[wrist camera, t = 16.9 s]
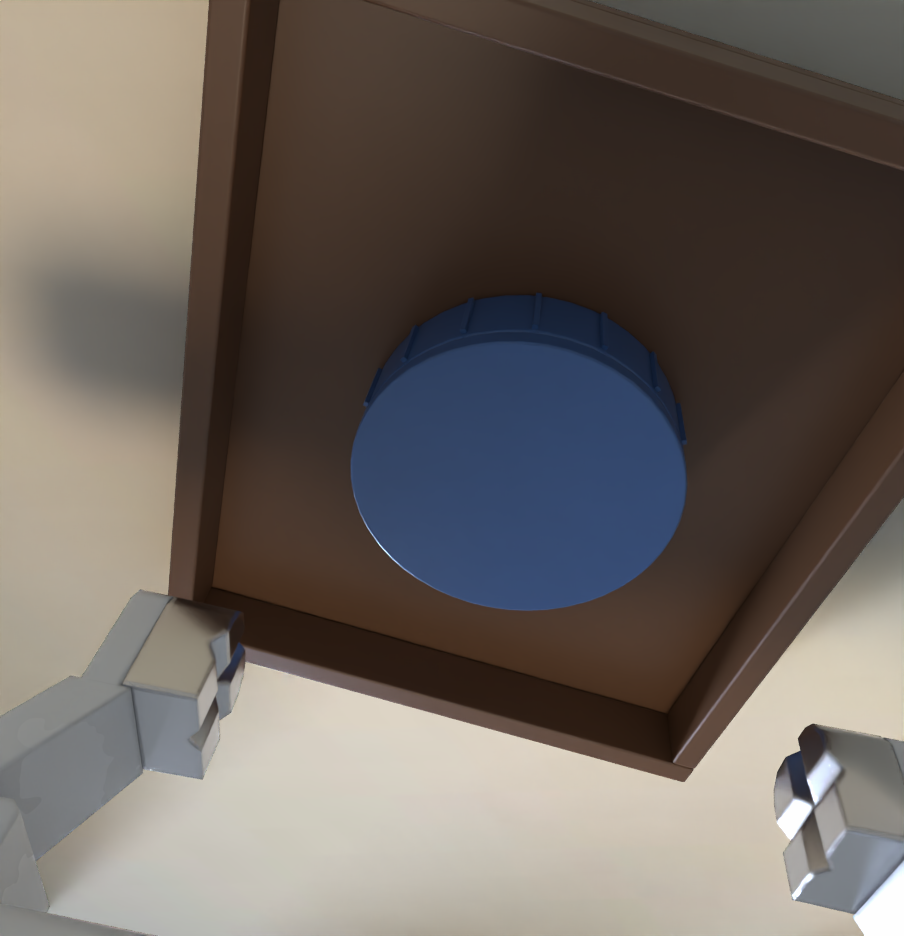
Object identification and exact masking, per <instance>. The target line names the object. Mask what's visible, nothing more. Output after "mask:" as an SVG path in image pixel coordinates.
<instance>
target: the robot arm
mask: <svg viewBox="0 0 904 936" xmlns="http://www.w3.org/2000/svg"><path fill="white" fill-rule="evenodd" d="M244 630H245V622H244V613H243V612H241V611H237V610H232V609H228V608H223V607H219V606H214V605H210V604H206V603H201V602H197V601H192V600H188V599H183V598H179V597H173V596H169V595H164V594H159V593H155V592H150V591H145V590H141V589H140V590H139V591H138V592H137V593H136V594H134V595H133V596H132V597H131V598H130V600H129V601H128V603H127V604H126V606H125V608H124V609H123V611H122V612H121V614H120V616H119V617H118V619H117V620H116V622H115V624H114V625H113V627H112V628H111V630H110V632H109V633H108V635H107V636H106V638H105V640H104V641H103V643H102V644H101V646H100V648H99V649H98V651H97V653H96V654H95V656H94V657H93V659H92V661H91V662H90V664H89V665H88V667H87V669H86V670H85V672H84V673H83V675H82V677H76V676H69V677H67V678H66V679H64V680H62V681H60V682H59V683H57V684H55V685H54V686H52V687H50V688H48V689H47V690H45V691H43V692H41V693H40V694H38V695H36V696H34V697H33V698H31V699H29V700H27V701H26V702H24V703H22V704H20V705H19V706H17V707H15V708H14V709H12V710H10V711H8V712H7V713H5V714H3V715H1V716H0V936H156V935H151V934H146V933H141V932H136V931H132V930H127V929H122V928H117V927H112V926H108V925H103V924H98V923H93V922H89V921H84V920H79V919H74V918H70V917H65V916H60V915H55V914H50V913H47V911H48V909H49V907H50V905H49V902H48V899H47V896H46V893H45V889H44V886H43V883H42V880H41V877H40V874H39V870H38V867H37V864H36V860H38V859H39V858H40V857H41V856H43V855H44V854H45V853H46V852H47V851H49V850H50V849H51V848H52V847H54V846H55V845H56V844H57V843H58V842H60V841H61V840H62V839H63V838H64V837H66V836H67V835H68V834H69V833H71V832H72V831H73V830H74V829H75V828H77V827H78V826H79V825H80V824H81V823H83V822H84V821H85V820H86V819H88V818H89V817H90V816H91V815H92V814H94V813H95V812H96V811H97V810H98V809H100V808H101V807H102V806H103V805H105V804H106V803H107V802H108V801H109V800H111V799H112V798H113V797H114V796H116V795H117V794H118V793H119V792H120V791H122V790H123V789H124V788H125V787H126V786H128V785H129V784H130V783H131V782H133V781H134V780H135V779H136V778H137V777H139V776H140V775H141V774H142V773H143V769H145V770H151V771H157V772H162V773H168V774H174V775H179V776H185V777H191V778H197V779H202V780H203V778H204V775H205V773H206V771H207V768H208V766H209V764H210V761H211V759H212V756H213V754H214V752H215V749H216V747H217V745H218V742H219V740H220V727H219V720H221V719H222V718H224V717H225V716H227V715H228V714H230V713H231V712H232V709H233V707H234V704H235V702H236V699H237V697H238V694H239V690H240V686H241V683H242V679H243V675H244V667H245V648H244V647H243V646H242V645H241V644H240V642H239V641H240V639H241V636H242V634H243V632H244ZM798 741H799V746H800V750H801V751H799V752H797V753H794V754H792V755H790V756H787V757H786V758H785V759H784V761H783V763H782V765H781V766H780V768H779V770H778V772H777V777H776V782H775V787H774V807H775V813H776V819H777V823H778V824H779V826H780V827H781V828H782V829H783V831H784V832H785V833H786V834H787V836H788V837H789V838H790V839H791V841H790V843H789V844H788V846H787V847H786V849H785V851H784V852H783V856H784V861H785V866H786V871H787V876H788V881H789V886H790V891H791V896H792V900H795V901H800V902H804V903H808V904H813V905H817V906H821V907H826V908H830V909H834V910H839V911H843V912H847V913H852V914H855V915H854V916H853V918H854V920H855V921H856V923H857V924H858V926H859V927H860V929H861V930H862V932H863V933H864V935H865V936H904V741H899V740H894V739H889V738H882V737H881V736H877V735H872V734H866V733H861V732H855V731H850V730H845V729H839V728H834V727H828V726H823V725H818V724H811V725H809V726H807V727H806V728H805V729H804V730H803V732H802V733H801V735H800V736H799V738H798Z"/></svg>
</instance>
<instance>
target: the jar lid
mask: <svg viewBox="0 0 904 936" xmlns="http://www.w3.org/2000/svg"><path fill="white" fill-rule="evenodd" d="M363 406H366V409H365V412H364V414H363V417H362V419H361V422H360V424H359V427H358V430H357V433H356V436H355V439H354V442H353V447H352V454H351V482H352V488H353V493H354V497H355V500H356V503H357V506H358V509H359V512H360V514H361V516H362V518H363V520H364V522H365V524H366V526H367V528H368V530H369V531H370V533H371V534H372V536H373V537H374V538H375V540H376V541H377V543H378V544H379V545H380V546H381V547H382V548H383V550H384V551H385V552H386V553H387V554H388V555H389V556H390V557H391V558H392V559H393V560H394V561H395V562H396V563H397V564H399V565H400V566H401V567H402V568H403V569H404V570H406V571H407V572H409V573H410V574H411V575H413V576H414V577H416V578H417V579H418V580H420V581H422V582H424V583H425V584H427V585H429V586H431V587H433V588H434V589H436V590H439V591H441V592H443V593H445V594H448V595H450V596H452V597H455V598H458V599H461V600H464V601H467V602H470V603H474V604H479V605H483V606H487V607H493V608H500V609H507V610H527V611H530V610H549V609H555V608H562V607H568V606H572V605H576V604H580V603H584V602H588V601H590V600H593V599H596V598H599V597H601V596H604V595H606V594H608V593H610V592H612V591H614V590H616V589H618V588H620V587H622V586H623V585H625V584H627V583H628V582H630V581H631V580H633V579H634V578H636V577H637V576H638V575H639V574H641V573H642V572H643V571H644V570H645V569H647V568H648V567H649V566H650V565H651V564H652V563H653V562H654V561H655V560H656V559H657V557H658V556H659V555H660V554H661V553H662V552H663V550H664V549H665V547H666V546H667V544H668V543H669V541H670V540H671V539H672V537H673V535H674V533H675V531H676V529H677V527H678V524H679V522H680V520H681V517H682V513H683V510H684V506H685V502H686V493H687V470H686V462H685V456H684V449H683V445H685V444H687V439H686V433H685V427H684V421H683V415H682V409H681V404H680V403H675V398H674V395H673V392H672V390H671V387H670V385H669V382H668V380H667V378H666V376H665V375H664V373H663V371H662V369H661V368H660V366H659V364H658V362H657V355H656V354H655V352H654V351H653V352H651V353H649V352H648V350H647V349H646V348H645V347H644V346H643V345H642V344H641V343H640V342H639V341H638V340H637V339H636V338H635V337H633V336H632V335H631V334H630V333H629V332H628V331H626V330H625V329H623V328H622V327H620V326H619V325H618V324H616V323H615V322H613V321H612V320H610V319H608V318H607V314H606V313H604V312H602V313H601V314H599V313H596V312H595V311H593V310H590V309H587V308H585V307H582V306H579V305H576V304H574V303H571V302H567V301H562V300H558V299H554V298H549V297H542V293H536V296H531V295H505V296H498V297H490V298H483V299H480V300H474V297H473V298H469V299H468V302H467V303H465V304H461V305H459V306H456V307H454V308H452V309H449V310H447V311H444V312H442V313H440V314H439V315H437V316H435V317H433V318H432V319H430V320H428V321H426V322H425V323H423V324H422V325H421V326H419V327H418V326H417V325H414V326H413V327H412V329H411V332H410V334H409V335H408V336H407V337H406V338H405V340H404V341H403V342H402V343H401V344H400V345H399V346H398V347H397V348H396V349H395V351H394V352H393V353H392V355H391V356H390V358H389V359H388V360H387V362H386V363H385V365H384V367H383V369H381V368H378V370H377V372H376V374H375V377H374V379H373V382H372V384H371V386H370V389H369V391H368V394H367V396H366V399H365V401H364V403H363Z"/></svg>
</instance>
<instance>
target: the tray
mask: <svg viewBox="0 0 904 936" xmlns="http://www.w3.org/2000/svg"><path fill="white" fill-rule="evenodd" d="M536 293H542V297H549V298H554V299H558V300H562V301H567V302H571V303H574V304H576V305H579V306H582V307H585V308H587V309H590V310H593V311H595V312H596V313H599V314H601V313H602V312H604V313H606V314H607V318H608V319H610V320H612V321H613V322H615V323H616V324H618V325H619V326H620V327H622V328H623V329H625V330H626V331H628V332H629V333H630V334H631V335H632V336H633V337H635V338H636V339H637V340H638V341H639V342H640V343H641V344H642V345H643V346H644V347H645V348H646V349H647V350H648V352H649V353H651V352H653V351H654V352H655V354H656V355H657V362H658V364H659V366H660V368H661V369H662V371H663V373H664V375H665V376H666V378H667V380H668V382H669V385H670V387H671V390H672V392H673V395H674V398H675V403H680V404H681V409H682V415H683V421H684V427H685V433H686V439H687V444H685V445H683V449H684V456H685V462H686V470H687V493H686V502H685V506H684V510H683V513H682V517H681V520H680V522H679V524H678V527H677V529H676V531H675V533H674V535H673V537H672V539H671V540H670V541H669V543H668V544H667V546H666V547H665V549H664V550H663V552H662V553H661V554H660V555H659V556H658V557H657V559H656V560H655V561H654V562H653V563H652V564H651V565H650V566H649V567H648V568H647V569H645V570H644V571H643V572H642V573H641V574H639V575H638V576H637V577H636V578H634V579H633V580H631V581H630V582H628V583H627V584H625V585H623V586H622V587H620V588H618V589H616V590H614V591H612V592H610V593H608V594H606V595H604V596H601V597H599V598H596V599H593V600H590V601H588V602H584V603H580V604H576V605H572V606H568V607H562V608H555V609H549V610H530V611H527V610H507V609H500V608H493V607H487V606H483V605H479V604H474V603H470V602H467V601H464V600H461V599H458V598H455V597H452V596H450V595H448V594H445V593H443V592H441V591H439V590H436V589H434V588H433V587H431V586H429V585H427V584H425V583H424V582H422V581H420V580H418V579H417V578H416V577H414V576H413V575H411V574H410V573H409V572H407V571H406V570H404V569H403V568H402V567H401V566H400V565H399V564H397V563H396V562H395V561H394V560H393V559H392V558H391V557H390V556H389V555H388V554H387V553H386V552H385V551H384V550H383V548H382V547H381V546H380V545H379V544H378V543H377V541H376V540H375V538H374V537H373V536H372V534H371V533H370V531H369V530H368V528H367V526H366V524H365V522H364V520H363V518H362V516H361V514H360V512H359V509H358V506H357V503H356V500H355V497H354V493H353V488H352V482H351V454H352V447H353V442H354V439H355V436H356V433H357V430H358V427H359V424H360V422H361V419H362V417H363V414H364V412H365V409H366V406H363V403H364V401H365V399H366V396H367V394H368V391H369V389H370V386H371V384H372V382H373V379H374V377H375V374H376V372H377V370H378V368H381V369H383V367H384V365H385V363H386V362H387V360H388V359H389V358H390V356H391V355H392V353H393V352H394V351H395V349H396V348H397V347H398V346H399V345H400V344H401V343H402V342H403V341H404V340H405V338H406V337H407V336H408V335H409V334H410V332H411V329H412V327H413V326H414V325H417V326H418V327H419V326H421V325H422V324H423V323H425V322H426V321H428V320H430V319H432V318H433V317H435V316H437V315H439V314H440V313H442V312H444V311H447V310H449V309H452V308H454V307H456V306H459V305H461V304H465V303H467V302H468V299H469V298H473V297H474V300H480V299H483V298H490V297H498V296H505V295H531V296H536ZM903 498H904V101H903V100H900V99H896V98H893V97H890V96H887V95H884V94H881V93H878V92H874V91H871V90H868V89H865V88H862V87H859V86H856V85H852V84H849V83H846V82H843V81H840V80H837V79H834V78H830V77H827V76H824V75H821V74H818V73H815V72H812V71H808V70H805V69H802V68H799V67H796V66H793V65H790V64H787V63H783V62H780V61H777V60H774V59H771V58H768V57H765V56H761V55H758V54H755V53H752V52H749V51H746V50H743V49H739V48H736V47H733V46H730V45H727V44H724V43H721V42H717V41H714V40H711V39H708V38H705V37H702V36H699V35H695V34H692V33H689V32H686V31H683V30H680V29H677V28H673V27H670V26H667V25H664V24H661V23H658V22H655V21H651V20H648V19H645V18H642V17H639V16H636V15H633V14H630V13H626V12H623V11H620V10H617V9H614V8H611V7H608V6H604V5H601V4H598V3H595V2H592V1H589V0H209V10H208V24H207V39H206V53H205V68H204V82H203V97H202V111H201V126H200V140H199V155H198V169H197V184H196V198H195V213H194V227H193V242H192V256H191V271H190V285H189V300H188V314H187V328H186V343H185V357H184V372H183V386H182V401H181V415H180V430H179V444H178V459H177V473H176V488H175V502H174V517H173V531H172V546H171V560H170V575H169V589H168V595H169V596H173V597H179V598H183V599H188V600H192V601H197V602H201V603H206V604H210V605H214V606H219V607H223V608H228V609H232V610H237V611H241V612H243V613H244V622H245V630H244V632H243V634H242V636H241V639H240V641H239V642H240V644H241V645H242V646H243V647H244V648H245V662H249V663H252V664H256V665H260V666H263V667H267V668H271V669H274V670H278V671H282V672H285V673H289V674H292V675H296V676H300V677H303V678H307V679H311V680H314V681H318V682H321V683H325V684H329V685H332V686H336V687H340V688H343V689H347V690H350V691H354V692H358V693H361V694H365V695H369V696H372V697H376V698H380V699H383V700H387V701H390V702H394V703H398V704H401V705H405V706H409V707H412V708H416V709H419V710H423V711H427V712H430V713H434V714H438V715H441V716H445V717H448V718H452V719H456V720H459V721H463V722H467V723H470V724H474V725H478V726H481V727H485V728H488V729H492V730H496V731H499V732H503V733H507V734H510V735H514V736H517V737H521V738H525V739H528V740H532V741H536V742H539V743H543V744H546V745H550V746H554V747H557V748H561V749H565V750H568V751H572V752H576V753H579V754H583V755H586V756H590V757H594V758H597V759H601V760H605V761H608V762H612V763H615V764H619V765H623V766H626V767H630V768H634V769H637V770H641V771H644V772H648V773H652V774H655V775H659V776H663V777H666V778H670V779H674V780H677V781H681V782H685V780H686V779H687V778H688V777H689V775H690V774H691V773H692V771H693V768H695V767H696V766H697V765H698V763H699V762H700V761H701V759H702V758H703V757H704V756H705V754H706V753H707V752H708V750H709V749H710V748H711V746H712V745H713V744H714V743H715V741H716V740H717V739H718V737H719V736H720V735H721V734H722V732H723V731H724V730H725V728H726V727H727V726H728V724H729V723H730V722H731V721H732V719H733V718H734V717H735V715H736V714H737V713H738V711H739V710H740V709H741V708H742V706H743V705H744V704H745V702H746V701H747V700H748V699H749V697H750V696H751V695H752V693H753V692H754V691H755V689H756V688H757V687H758V686H759V684H760V683H761V682H762V680H763V679H764V678H765V676H766V675H767V674H768V673H769V671H770V670H771V669H772V667H773V666H774V665H775V664H776V662H777V661H778V660H779V658H780V657H781V656H782V654H783V653H784V652H785V651H786V649H787V648H788V647H789V645H790V644H791V643H792V641H793V640H794V639H795V638H796V636H797V635H798V634H799V632H800V631H801V630H802V629H803V627H804V626H805V625H806V623H807V622H808V621H809V619H810V618H811V617H812V616H813V614H814V613H815V612H816V610H817V609H818V608H819V606H820V605H821V604H822V603H823V601H824V600H825V599H826V597H827V596H828V595H829V594H830V592H831V591H832V590H833V588H834V587H835V586H836V584H837V583H838V582H839V581H840V579H841V578H842V577H843V575H844V574H845V573H846V571H847V570H848V569H849V568H850V566H851V565H852V564H853V562H854V561H855V560H856V559H857V557H858V556H859V555H860V553H861V552H862V551H863V549H864V548H865V547H866V546H867V544H868V543H869V542H870V540H871V539H872V538H873V536H874V535H875V534H876V533H877V531H878V530H879V529H880V527H881V526H882V525H883V524H884V522H885V521H886V520H887V518H888V517H889V516H890V514H891V513H892V512H893V511H894V509H895V508H896V507H897V505H898V504H899V503H900V501H901V500H902V499H903Z"/></svg>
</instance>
